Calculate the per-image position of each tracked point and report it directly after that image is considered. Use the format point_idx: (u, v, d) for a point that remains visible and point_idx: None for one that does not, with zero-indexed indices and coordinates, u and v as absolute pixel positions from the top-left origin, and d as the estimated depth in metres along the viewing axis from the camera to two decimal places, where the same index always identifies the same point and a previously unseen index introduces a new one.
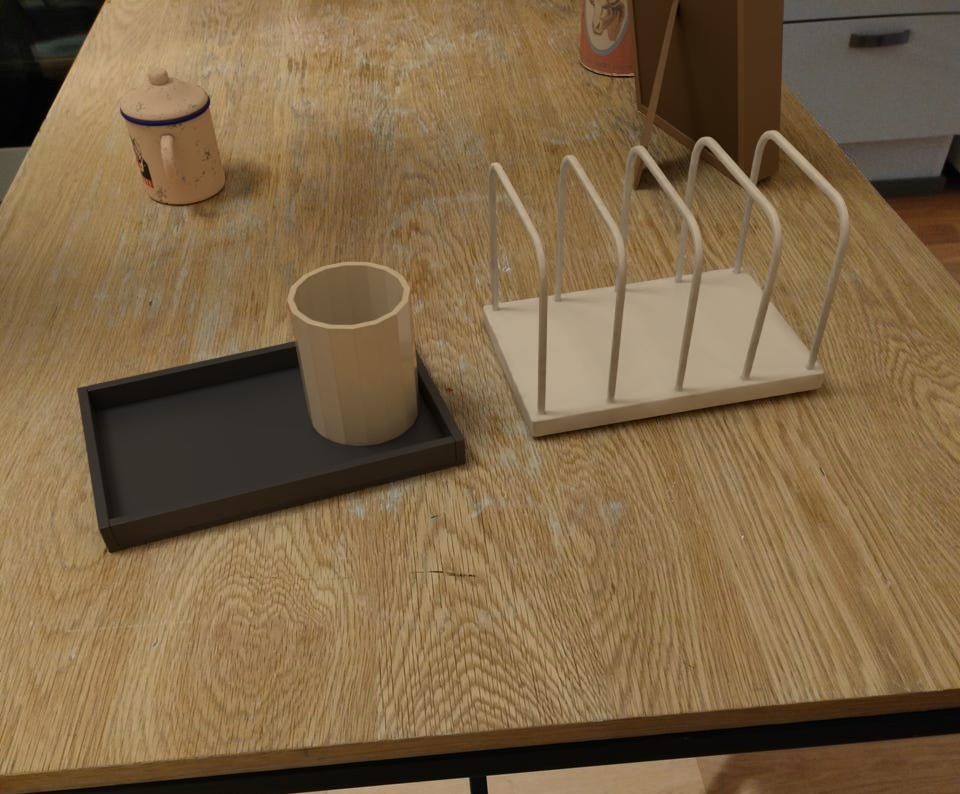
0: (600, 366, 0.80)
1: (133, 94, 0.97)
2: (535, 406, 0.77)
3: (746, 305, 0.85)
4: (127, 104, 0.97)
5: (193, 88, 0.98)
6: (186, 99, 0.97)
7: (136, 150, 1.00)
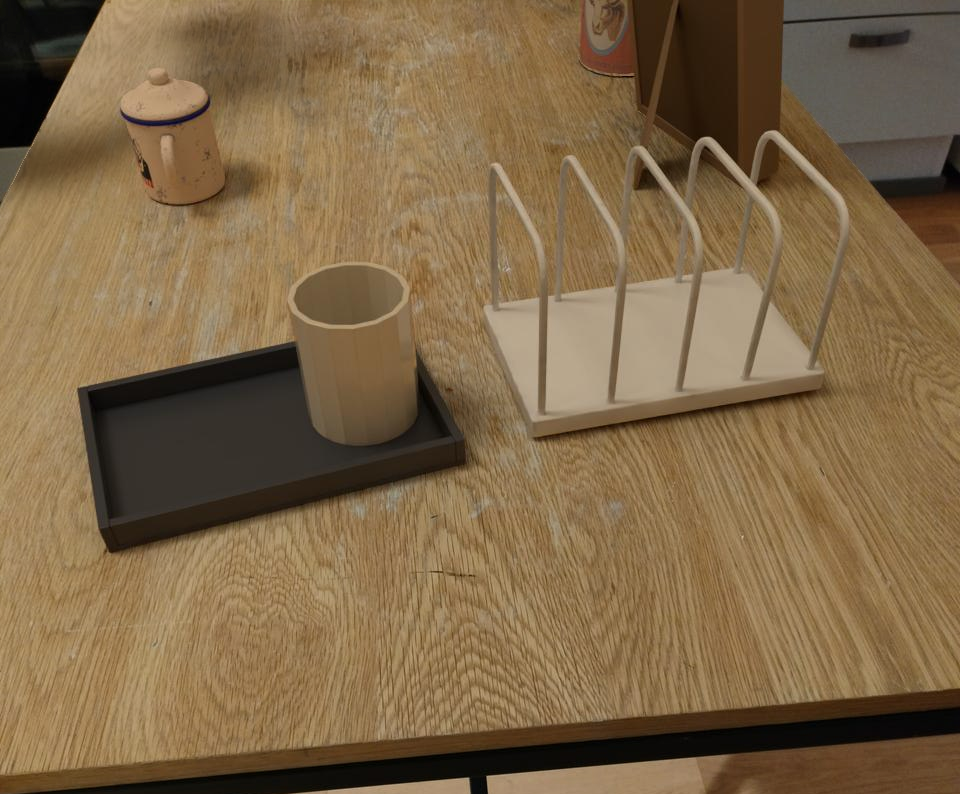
0: (600, 366, 0.80)
1: (133, 94, 0.97)
2: (535, 406, 0.77)
3: (746, 305, 0.85)
4: (127, 104, 0.97)
5: (193, 88, 0.98)
6: (186, 99, 0.97)
7: (136, 150, 1.00)
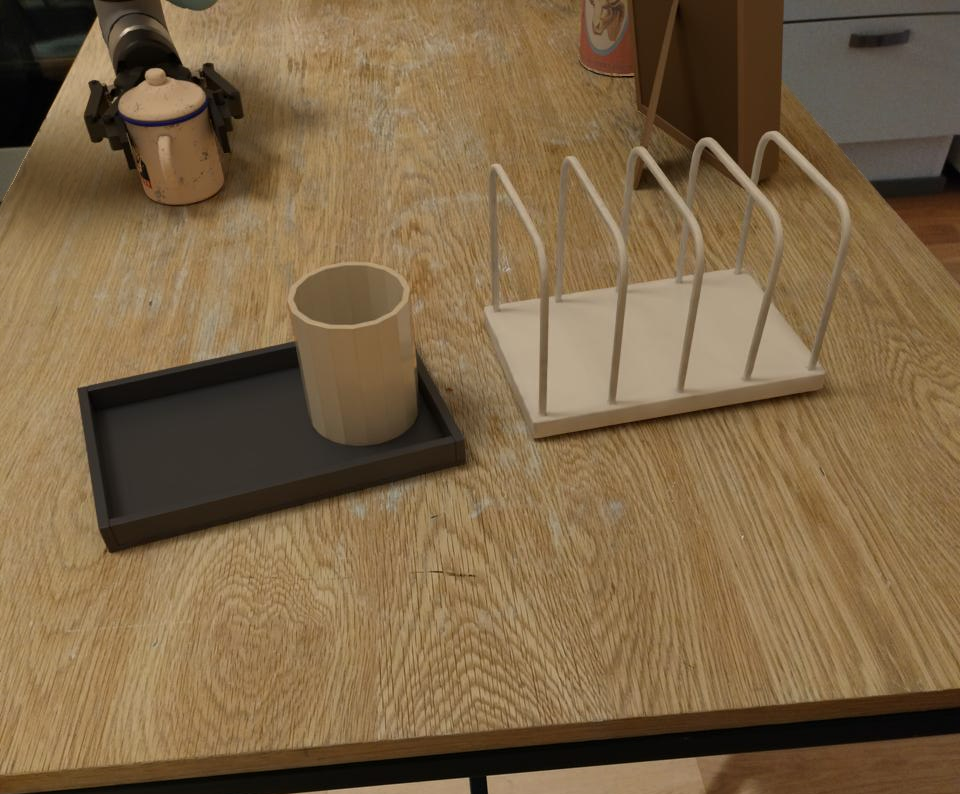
0: (601, 367, 0.80)
1: (131, 94, 0.97)
2: (536, 407, 0.77)
3: (747, 306, 0.85)
4: (125, 105, 0.97)
5: (191, 88, 0.98)
6: (184, 99, 0.97)
7: (134, 151, 1.00)
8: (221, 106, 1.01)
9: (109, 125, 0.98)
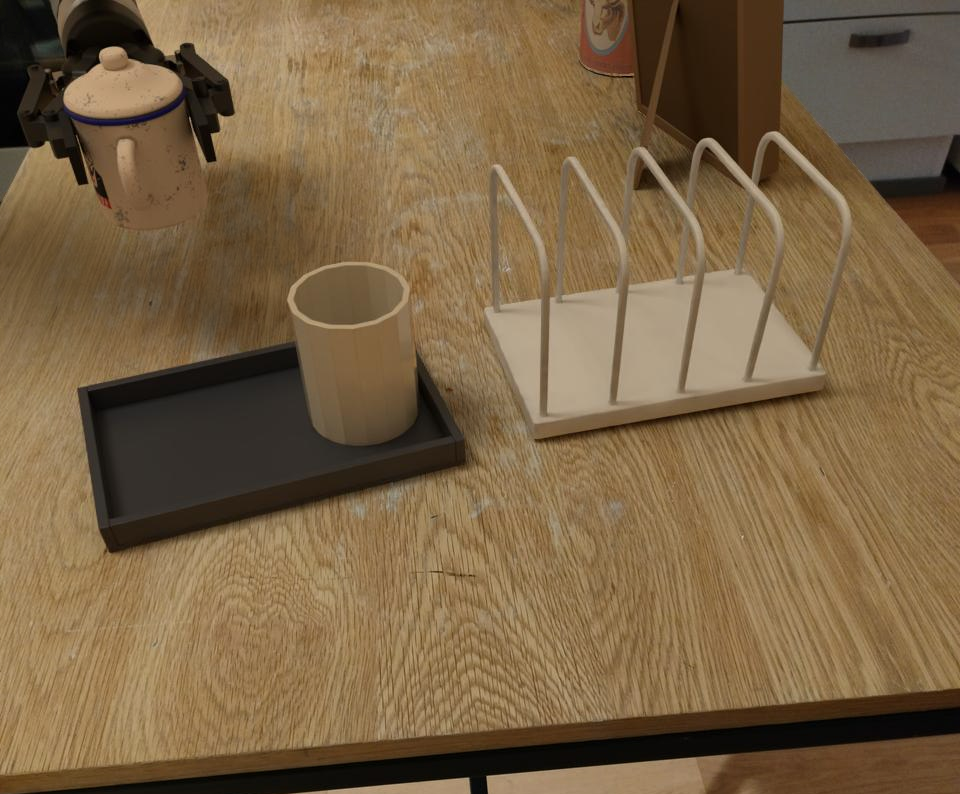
0: (601, 368, 0.80)
1: (80, 83, 0.72)
2: (537, 408, 0.77)
3: (748, 306, 0.85)
4: (72, 97, 0.71)
5: (162, 74, 0.73)
6: (152, 89, 0.71)
7: (86, 158, 0.74)
8: (204, 99, 0.75)
9: (52, 124, 0.73)
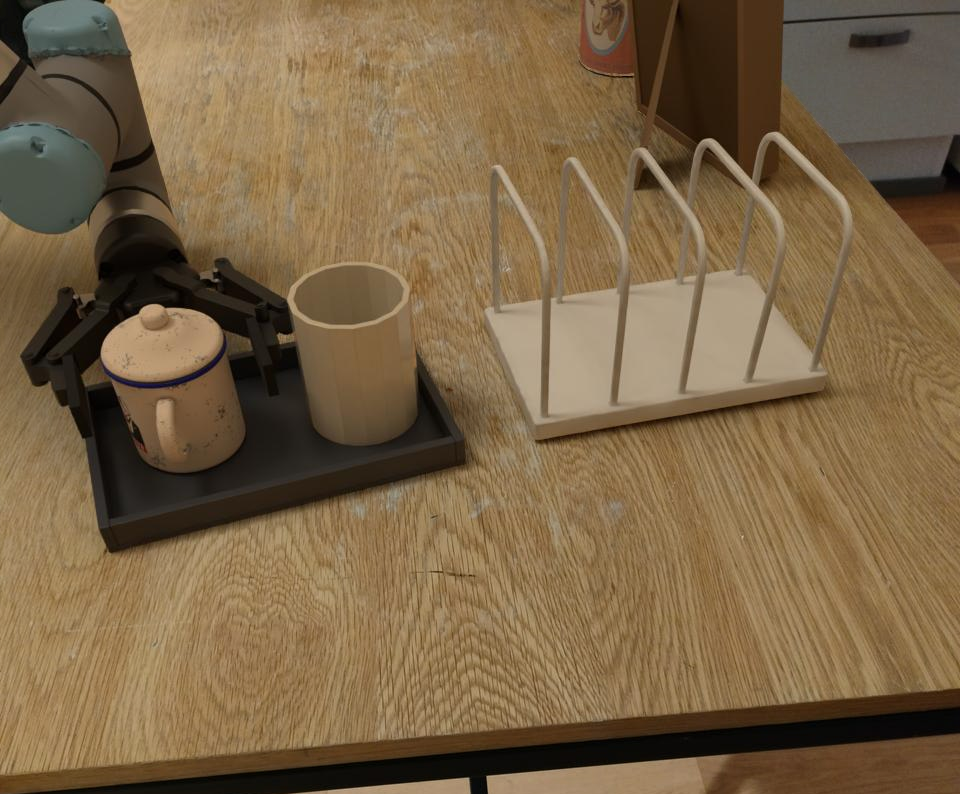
0: (602, 369, 0.80)
1: (119, 339, 0.69)
2: (538, 409, 0.77)
3: (748, 307, 0.85)
4: (110, 355, 0.69)
5: (203, 327, 0.70)
6: (193, 348, 0.69)
7: (123, 408, 0.72)
8: (265, 324, 0.74)
9: (55, 369, 0.71)
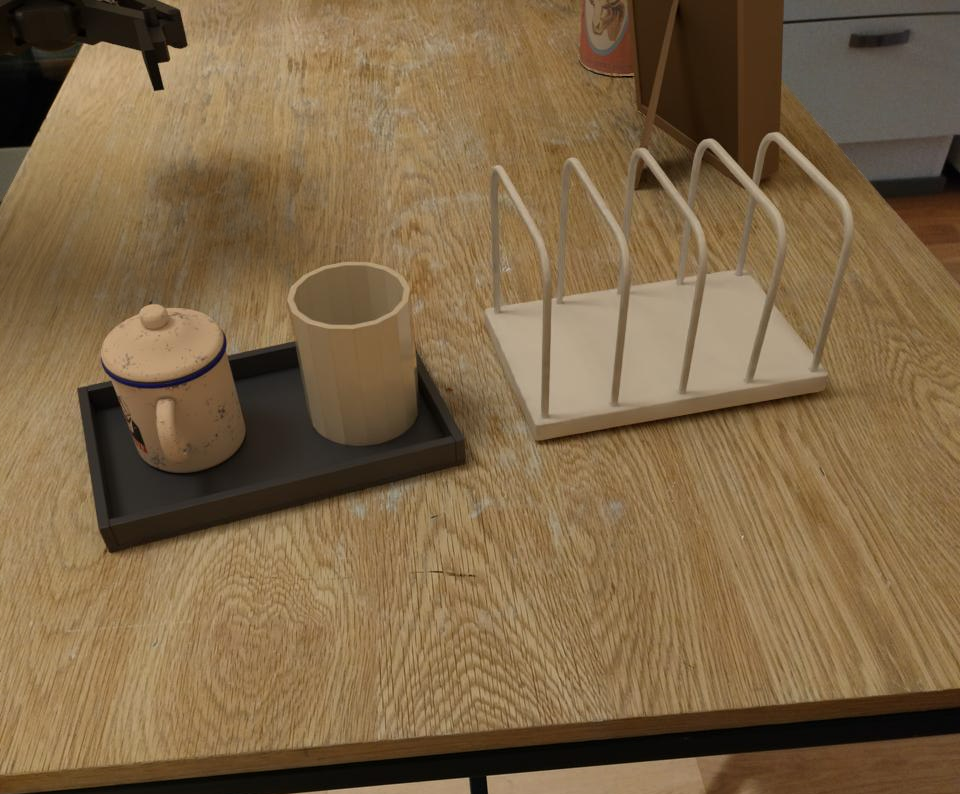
0: (603, 369, 0.80)
1: (119, 339, 0.69)
2: (538, 410, 0.77)
3: (749, 307, 0.85)
4: (110, 355, 0.69)
5: (203, 327, 0.70)
6: (193, 348, 0.69)
7: (123, 408, 0.72)
8: (154, 28, 0.74)
9: None
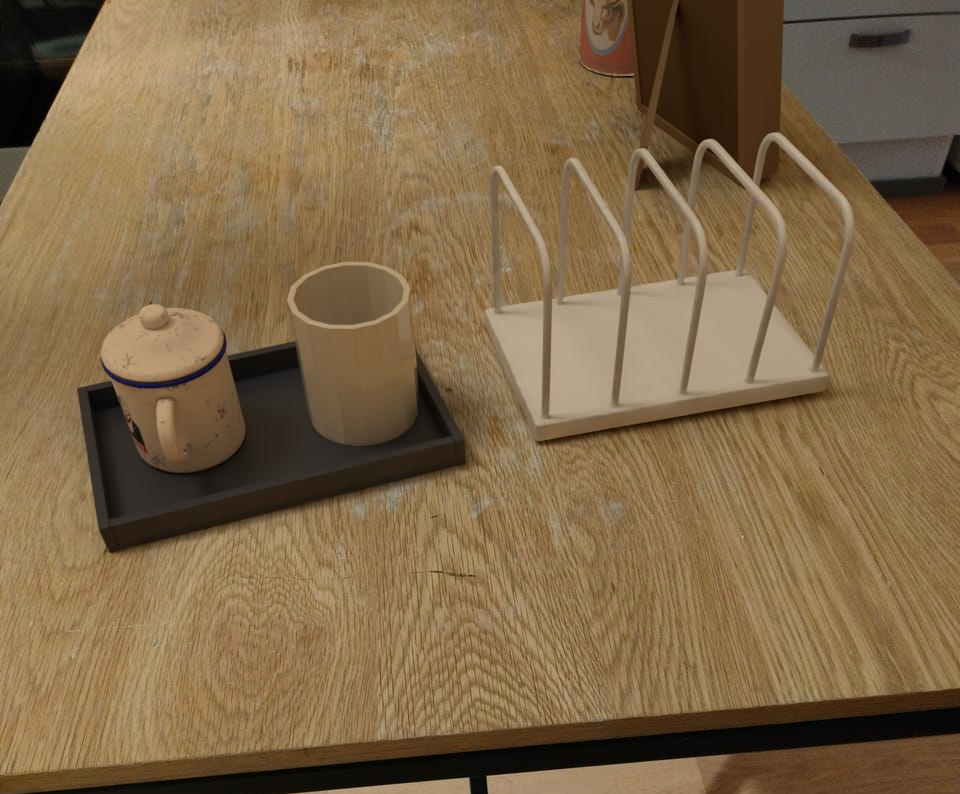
0: (603, 370, 0.80)
1: (119, 339, 0.69)
2: (539, 410, 0.77)
3: (749, 307, 0.85)
4: (110, 355, 0.69)
5: (203, 327, 0.70)
6: (193, 348, 0.69)
7: (123, 408, 0.72)
8: None
9: None
